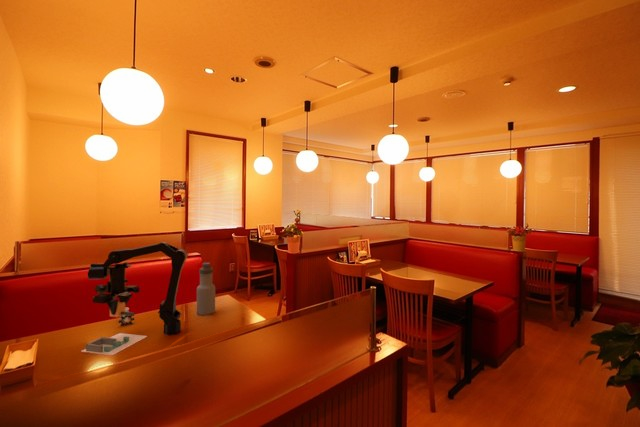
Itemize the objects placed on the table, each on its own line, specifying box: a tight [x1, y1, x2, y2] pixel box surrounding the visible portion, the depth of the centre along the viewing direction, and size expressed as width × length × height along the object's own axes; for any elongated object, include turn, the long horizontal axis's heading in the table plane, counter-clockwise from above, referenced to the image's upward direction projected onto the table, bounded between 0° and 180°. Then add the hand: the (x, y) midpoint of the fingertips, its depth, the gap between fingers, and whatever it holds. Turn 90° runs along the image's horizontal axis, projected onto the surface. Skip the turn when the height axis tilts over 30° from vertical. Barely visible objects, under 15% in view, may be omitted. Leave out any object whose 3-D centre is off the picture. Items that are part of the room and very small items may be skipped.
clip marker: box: [115, 337, 129, 346], centre depth 125 cm, size 2×5×2 cm, turn 168°
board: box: [80, 332, 148, 356], centre depth 125 cm, size 15×18×1 cm
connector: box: [109, 301, 136, 318], centre depth 130 cm, size 11×4×6 cm, turn 78°
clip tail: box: [104, 342, 119, 352], centre depth 120 cm, size 2×5×2 cm, turn 168°
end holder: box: [85, 336, 116, 352], centre depth 121 cm, size 7×7×2 cm
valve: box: [118, 306, 135, 327], centre depth 150 cm, size 7×7×12 cm
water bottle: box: [196, 262, 216, 316], centre depth 166 cm, size 10×10×28 cm
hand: (117, 313), depth 131 cm, fingers closed on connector, 4 cm apart
